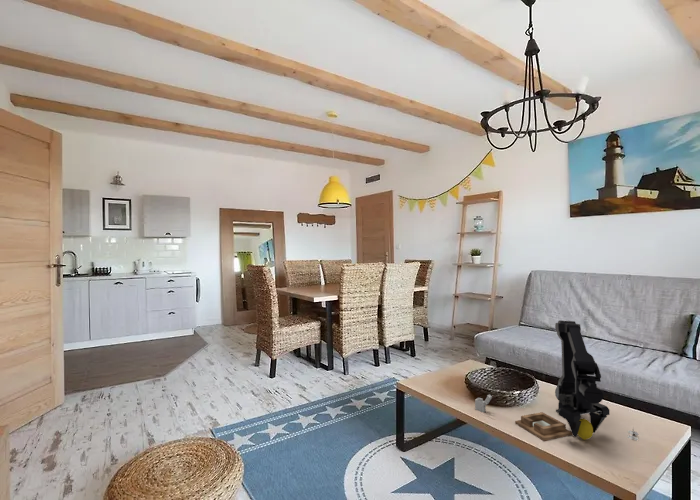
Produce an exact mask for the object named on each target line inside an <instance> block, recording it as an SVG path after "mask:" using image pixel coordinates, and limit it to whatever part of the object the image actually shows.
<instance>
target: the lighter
mask: <svg viewBox="0 0 700 500" xmlns="http://www.w3.org/2000/svg"><path fill="white" fill-rule="evenodd" d="M492 398H493V396H492V395H491V394H490V393H489V394H487V395H486V398H485V400H484V398H481V397H477V398H476V399H474V410H475V411H478V412H481V413H486V405H489V403H490V402H491V400H492Z"/></svg>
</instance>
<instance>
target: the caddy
mask: <svg viewBox="0 0 700 500" xmlns="http://www.w3.org/2000/svg"><path fill="white" fill-rule="evenodd" d="M514 424H515V425H517V426H518V427H520V428H522V429H524V431H527V433H530V434H531V435H533V436H535V437H536V438H538V439H539V440H541V441H542V442H545V441H546V442H547V441H551V440H555V439H559V438H564V437H565V438H566V437H569V436H573V434H572V431H571V430H569V429H567V425H566V423H564V422H562V421H560V420H558V419H556V418H555V417H552V416H550V415H549V414H547V413H545V412H543V411H541V412H536V413H535V412H534V413H531V414H530V413H529V414H524V415H520V419H519V420H514Z"/></svg>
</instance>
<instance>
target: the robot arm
mask: <svg viewBox="0 0 700 500" xmlns="http://www.w3.org/2000/svg"><path fill="white" fill-rule="evenodd" d="M554 325H555V326H554V327H555V331H556V335H557V337H558V338H559V339H560V342H561V369H562V371H561V374H562V375H561V376H560V377H559V380H558V381H557V383H558V384H557V386H556V387H555V391H554V393H555V395H554V396H555V397H556V399H557V400H558V402H557V403H558V409H555V412H557V413H558V416H559V417H562V419H564V420H566V421H567V423H568V426H569V429H570V431H571V432H572V436H573V437H575V438H577V436H578V431H579V427H580V424H581V421H579V420H580V419H582V416H583V415H589V419H590V421H589V422H590V423H591V425H592V427H593V434H595V433H596V432H597V430H598V429H599V427H600V426H601V424H602V423H603V421H605V419H606V418H607V417H608V416H610V408H609V407H608V406H607V405H604V404H602V401H603V400H604V394H603V391H602V390H601V389H600V388H599V387H598V385H597V382H598V383H601V381H602V380H601V378H602V374H601V372H600V368H599V365H598V363H597V362H596V360H595V358H594V356H593V355H592V354H591V353H589V352H588V350H587V347H586V345H585V341H584V339H583V336H582V330H581V323H579V324H578V323H576V321H575V320H558V321H557V322H556V323H555V324H554Z"/></svg>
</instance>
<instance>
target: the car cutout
mask: <svg viewBox="0 0 700 500" xmlns="http://www.w3.org/2000/svg"><path fill="white" fill-rule="evenodd" d="M627 433H628V434H629V433H630V434H629V435H627V437H626V439H629V438H630V439H629V440H633V439H634V441H637V440H638V441H639V438H638V436H637V435H639V432H637V431H634V430H628V431H627ZM633 434H635V435H633Z"/></svg>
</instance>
